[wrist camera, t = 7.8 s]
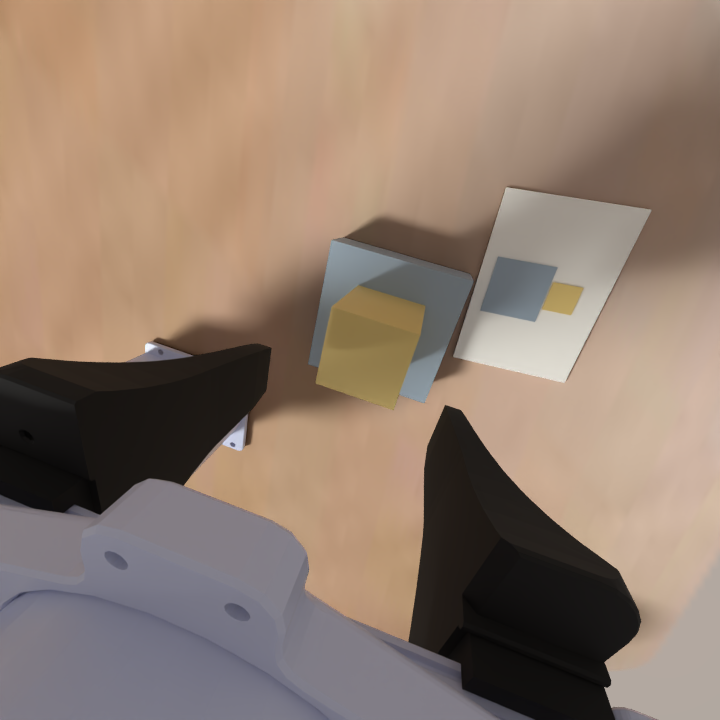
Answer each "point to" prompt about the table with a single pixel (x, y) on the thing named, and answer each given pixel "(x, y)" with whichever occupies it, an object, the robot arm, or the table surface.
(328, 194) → the table surface
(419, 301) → the base brick
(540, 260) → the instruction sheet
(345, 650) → the robot arm
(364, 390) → the ochre block
